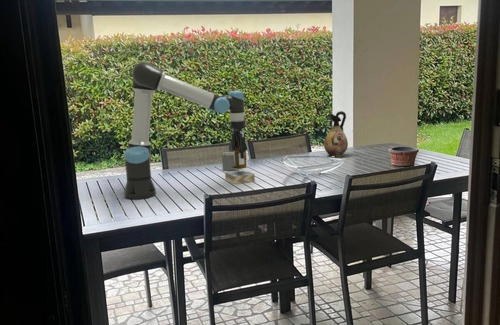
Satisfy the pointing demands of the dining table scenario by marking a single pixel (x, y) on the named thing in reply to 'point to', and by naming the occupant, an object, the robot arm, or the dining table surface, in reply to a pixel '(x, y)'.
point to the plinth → (239, 176)
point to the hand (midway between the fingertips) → (239, 163)
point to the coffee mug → (228, 161)
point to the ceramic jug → (336, 137)
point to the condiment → (238, 159)
